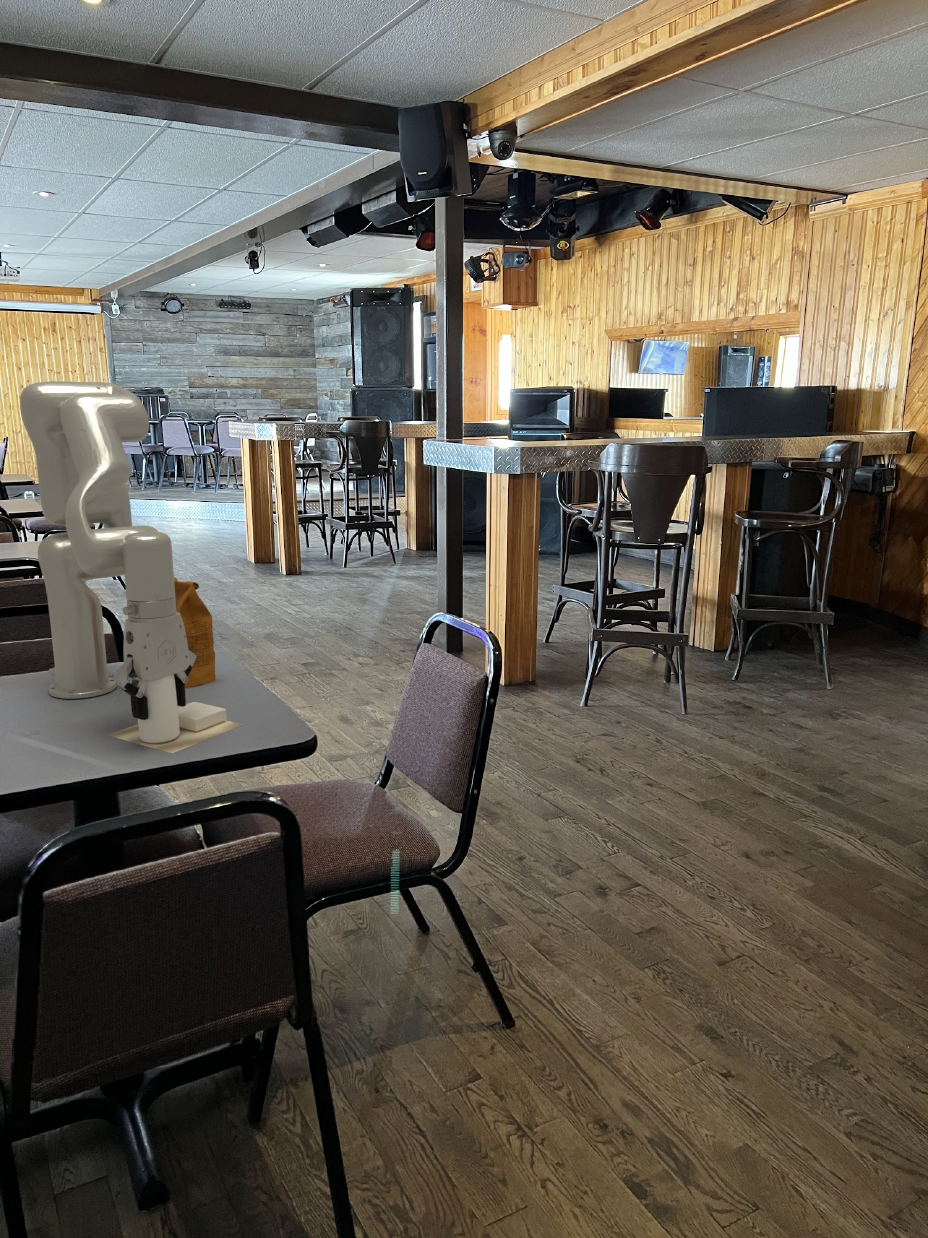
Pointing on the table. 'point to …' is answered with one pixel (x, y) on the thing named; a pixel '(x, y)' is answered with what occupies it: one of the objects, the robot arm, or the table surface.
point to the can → (160, 712)
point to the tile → (200, 716)
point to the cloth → (183, 739)
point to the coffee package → (196, 632)
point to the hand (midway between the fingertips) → (159, 711)
